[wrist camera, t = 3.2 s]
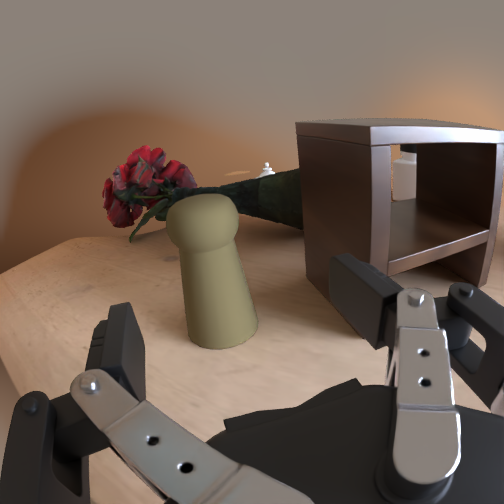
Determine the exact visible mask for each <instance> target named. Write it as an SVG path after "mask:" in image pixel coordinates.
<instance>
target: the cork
mask: <svg viewBox="0 0 504 504" xmlns="http://www.w3.org/2000/svg"><path fill="white" fill-rule="evenodd" d="M238 225H239V216H238V211H237V209H236V206H235V204H234V203H233V202H232V201H231V199H230V198H229V197H227V196H224V195H221V194H200V195H194V196H191V197H188V198H185V199H182V200H180V201H178V202H176V203H175V204H174V205H173V206H172V207H170V208H169V211H168V213H167V217H166V228H167V232H168V235H169V237H170V239H171V241H172V242H173V243H174V244H175V245H176V246H177V247H178V248H179V254H180V265H181V275H182V286H183V295H184V304H185V313H186V321H187V329H188V336H189V338H190V339H191V341H192V342H193V343H195V344H197V345H198V346H200V347H204V348H208V349H225V348H230V347H234V346H237V345H239V344H241V343H243V342H245V341H246V340H248V339H249V338H250V337H251V336H253V334H254V333H255V331H256V330H257V328H258V318H257V315H256V312H255V308H254V305H253V302H252V298H251V295H250V292H249V288H248V285H247V281H246V278H245V275H244V271H243V268H242V265H241V261H240V258H239V254H238V251H237V248H236V244H235V241H234V237H235V235H236V233H237V230H238Z"/></svg>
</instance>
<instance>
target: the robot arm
mask: <svg viewBox="0 0 504 504" xmlns="http://www.w3.org/2000/svg"><path fill="white" fill-rule="evenodd" d="M329 294H330V298H331V301H332V302H333V304H334V305H335V306H336V307H337V308H338V309H339V311H340V312H341V313H342V314H343V315H344V316H345V317H346V318H347V319H348V320H349V321H350V323H351V324H352V325H353V326H354V327H355V328H356V329H357V330H358V331H359V332H360V333H361V335H362V336H363V337H364V338H365V339H366V340H367V341H368V342H369V343H370V344H371V346H372V347H373V348H374V349H375V350H377V349H380V348H382V347H384V346H388V347H389V349H388V354H387V365H386V376H385V385H365V386H362V385H361V384H360V383H359V381H358V380H357V379H356V378H354V379H351V380H349V381H346V382H344V383H341V384H339V385H336V386H333V387H331V388H328V389H326V390H324V391H322V392H321V393H319V394H318V395H316V396H314V397H313V398H311V399H309V400H308V401H306V402H304V403H303V404H301V405H299V406H297V407H293V408H285V409H275V410H263V411H256V412H252V413H249V414H245V415H241V416H237V417H233V418H229V419H225V420H223V421H224V424H225V428H226V430H224V431H222V432H220V433H218V434H217V435H215V436H213V437H212V438H211V439H209V440H208V441H207V442H206V443H205V442H203V441H202V440H200V439H199V438H197V437H196V436H194V435H193V434H191V433H190V432H189V431H187V430H186V429H184V428H183V427H181V426H180V425H179V424H177V423H176V422H175V421H173V420H172V419H171V418H169V417H168V416H167V415H165V414H164V413H163V412H161V411H160V410H159V409H158V408H156V407H155V406H154V405H152V404H151V403H150V402H149V401H147V400H146V387H145V345H144V340H143V337H142V334H141V331H140V328H139V326H138V323H137V320H136V317H135V314H134V312H133V309H132V306H131V304H130V303H129V302H126V303H121V304H116V305H111V306H110V310H109V315H108V319H107V320H102V321H100V322H99V324H98V325H97V326H96V328H95V329H94V332H93V336H92V340H91V345H90V347H91V348H90V349H89V354H88V358H87V363H86V368H85V372H83V373H81V374H79V375H78V376H77V377H76V378H75V379H74V380H73V382H72V383H71V386H70V392H69V393H67V394H65V395H62V396H60V397H57V398H55V399H52V400H49V398H48V397H47V395H46V394H45V393H43V392H41V391H33V392H29V393H27V394H25V395H24V396H22V397H21V398H20V399H19V400H18V402H17V403H16V405H15V408H14V412H13V415H12V420H11V424H10V428H9V433H8V438H7V443H6V448H5V453H4V459H3V465H2V471H1V478H0V504H90V488H89V455H90V454H93V453H95V452H98V451H101V450H103V449H106V448H108V447H109V448H110V449H111V450H112V451H113V452H114V453H115V454H116V455H117V456H118V457H119V458H120V459H121V460H122V461H123V462H124V463H125V464H126V465H127V466H128V467H129V468H130V469H131V470H132V471H133V472H134V473H135V474H136V475H137V476H138V477H139V478H140V479H141V480H142V481H143V482H144V483H145V484H146V485H147V486H148V487H149V488H150V489H151V490H152V491H153V492H154V493H155V494H156V495H157V496H159V497H160V498H161V499H162V500H163V501H164V502H165V503H164V504H504V307H503V306H502V305H500V304H499V303H498V302H496V301H495V300H493V299H492V298H491V297H489V296H488V295H487V294H485V293H484V292H483V291H481V290H480V289H478V288H477V287H475V286H474V285H471V284H468V283H463V282H459V283H454V284H452V285H451V286H450V288H449V292H448V296H446V297H439V298H433V296H432V295H431V294H430V293H428V292H427V291H425V290H422V289H417V288H408V289H404V288H402V287H401V286H400V285H398V284H397V283H396V282H394V281H393V280H392V279H390V278H389V277H388V276H387V277H386V275H385V274H384V273H382V272H380V270H378V269H377V268H376V267H374V266H373V265H371V264H368V263H365V262H363V261H359V260H358V259H356V258H355V257H354V256H352V255H351V254H349V253H344V254H340V255H336V256H332V257H330V260H329ZM472 327H473V328H474V329H476V330H477V331H478V332H479V333H480V334H481V335H482V336H483V337H484V338H485V340H486V350H485V352H484V351H482V350H481V349H480V348H479V347H478V346H477V345H476V344H475V343H474V342H473V341H472V340H471V339H469V336H470V333H471V330H472ZM451 368H452V369H453V370H454V371H455V372H456V373H457V374H458V375H459V376H460V377H461V378H462V379H463V381H464V382H465V383H466V384H467V385H468V386H469V387H470V388H471V389H472V390H473V391H474V393H475V394H476V395H477V396H478V397H479V398H480V399H481V400H482V401H483V403H484V404H485V405H486V406H487V407H488V408H489V409H490V410H491V413H487V412H483V411H479V410H475V409H471V408H467V407H463V406H459V405H455V404H454V396H453V385H452V375H451Z"/></svg>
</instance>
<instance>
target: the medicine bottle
mask: <svg viewBox="0 0 504 504" xmlns="http://www.w3.org/2000/svg"><path fill="white" fill-rule="evenodd" d="M400 151H401V153H400V154H401V155H402V158H400V159H397V160H395V161H393V200H395V201H401V200H407V199H412V198H416V144H400Z"/></svg>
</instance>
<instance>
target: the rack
mask: <svg viewBox="0 0 504 504" xmlns="http://www.w3.org/2000/svg"><path fill="white" fill-rule="evenodd" d="M295 124H296V134H297V145H298V156H299V169H300V181H301V195H302V209H303V225H304V243H305V263H306V277H307V278H308V279H309V280H310V281H311V282H312V283H313V284H314V285H315V287H316V288H317V289H318V290H319V291H320V292H321V293H322V294H323V295H324V296H325V298H326V299H327V300H328V301H329V302H330V303H331V304H332V305H333V306H334V307H335V309H336V310H337V311H338V312H339V313H340V314H341V315H342V316H343V317H344V318H345V320H346V321H347V322H348V323H349V324H350V325H351V326H352V327H353V328H354V330H355V331H356V332H357V333H358V334H359V335H360V336H361V337H362V339H365V338H364V337H363V336H362V335H361V333H360V332H359V331H358V330H357V329H356V328H355V327H354V326H353V325H352V324H351V323H350V321H349V320H348V319H347V318H346V317H345V316H344V315H343V314H342V313H341V312H340V311H339V309H338V308H337V307H336V306H335V305H334V304H333V302H332V301H331V298H330V294H329V260H330V257H332V256H336V255H340V254H344V253H349V254H351V255H352V256H354V257H355V258H356V259H358V260H359V261H363V262H365V263H368V264H371V265H373V266H374V267H376V268H377V269H378V270H380V272H382V273H384V274H385V275H386V276H391V275H394V274H397V273H400V272H403V271H406V270H409V269H412V268H415V267H418V266H421V265H424V264H427V263H430V262H432V261H436V262H438V263H439V264H441V265H443V266H444V267H446V268H447V269H449V270H451V271H452V272H454V273H455V274H457V275H458V276H460V277H462V278H463V279H465V280H466V281H468V282H469V283H471V284H472V285H474V286H475V287H477V288H479V287H481V286H483V285H485V284H486V282H487V278H488V273H489V269H490V264H491V260H492V255H493V250H494V244H495V239H496V233H497V227H498V220H499V213H500V204H501V195H502V185H503V171H504V131H502V130H497V129H492V128H485V127H480V126H474V125H468V124H461V123H453V122H445V121H437V120H427V119H402V118H399V119H398V118H368V119H367V118H366V119H335V120H317V121H302V122H296V123H295ZM396 144H397V145H398V144H416V198H412V199H407V200H401V201H395V202H391V146H390V145H396Z"/></svg>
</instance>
